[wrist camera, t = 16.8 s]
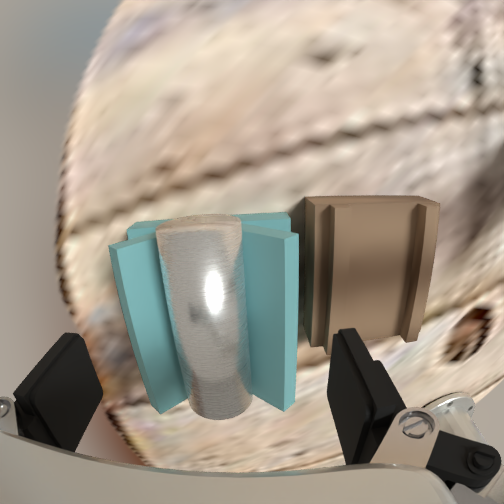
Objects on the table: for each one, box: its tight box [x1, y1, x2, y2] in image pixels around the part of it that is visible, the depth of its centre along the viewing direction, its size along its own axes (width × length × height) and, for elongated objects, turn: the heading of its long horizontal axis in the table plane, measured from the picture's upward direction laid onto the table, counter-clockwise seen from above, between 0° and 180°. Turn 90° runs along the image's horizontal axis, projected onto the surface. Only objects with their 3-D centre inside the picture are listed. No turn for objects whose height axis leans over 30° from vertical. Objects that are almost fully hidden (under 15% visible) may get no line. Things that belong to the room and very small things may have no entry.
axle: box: [155, 214, 252, 420], centre depth 18 cm, size 12×4×4 cm, turn 3°
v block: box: [108, 212, 299, 414], centre depth 20 cm, size 12×10×6 cm
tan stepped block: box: [303, 196, 440, 355], centre depth 20 cm, size 10×9×4 cm
